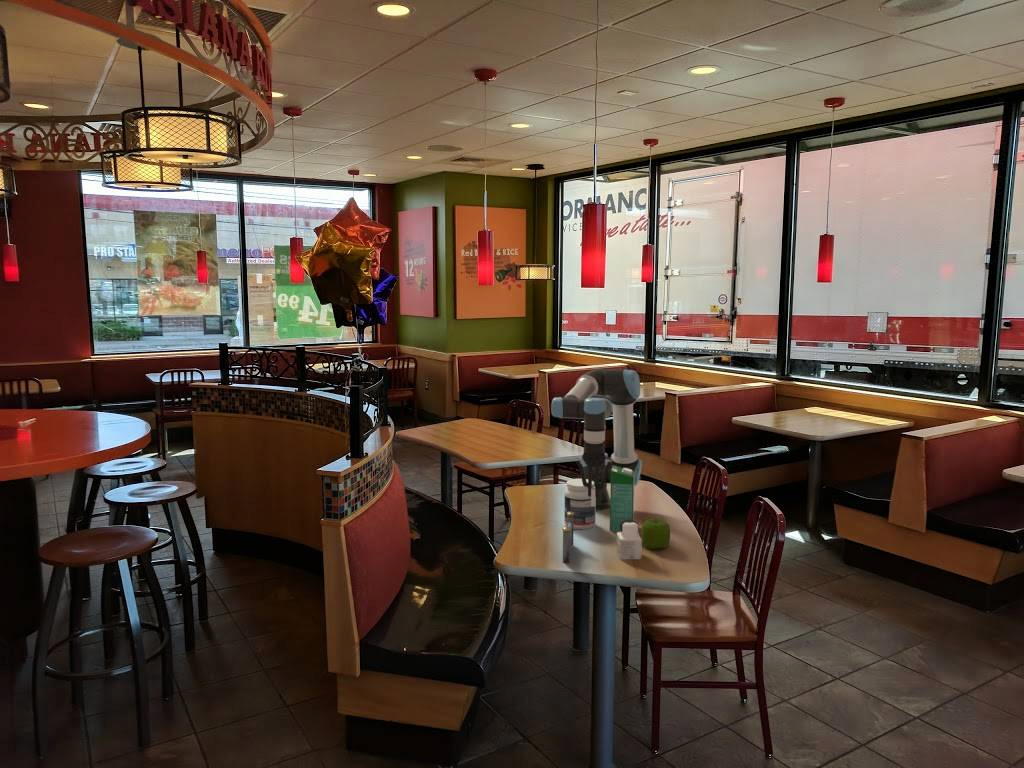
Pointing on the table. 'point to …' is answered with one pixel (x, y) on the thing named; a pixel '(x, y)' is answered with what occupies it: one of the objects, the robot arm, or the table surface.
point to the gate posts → (567, 537)
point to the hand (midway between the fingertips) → (593, 505)
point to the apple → (655, 533)
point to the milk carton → (621, 496)
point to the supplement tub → (579, 504)
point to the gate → (570, 537)
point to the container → (629, 540)
